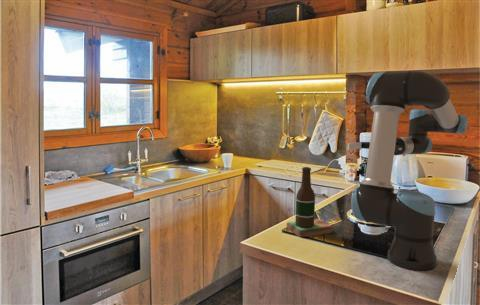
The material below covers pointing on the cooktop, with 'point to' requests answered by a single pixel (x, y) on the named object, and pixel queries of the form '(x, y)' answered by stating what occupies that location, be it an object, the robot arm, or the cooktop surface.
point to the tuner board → (317, 228)
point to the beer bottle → (305, 201)
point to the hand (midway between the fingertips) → (358, 148)
